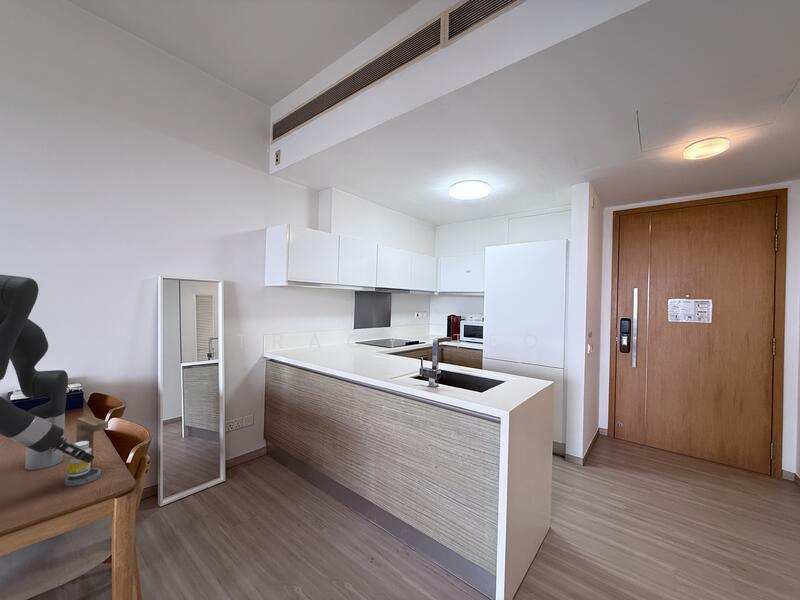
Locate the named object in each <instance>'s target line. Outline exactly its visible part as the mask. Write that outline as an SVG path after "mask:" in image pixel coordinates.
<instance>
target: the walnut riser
mask: <svg viewBox="0 0 800 600" xmlns="http://www.w3.org/2000/svg"><path fill="white" fill-rule="evenodd" d="M106 429H109V422H108V421H106V420H103V419H100V418H98V417H95V416H92V415H87V416H82V417H78V418H77V419H76V439H75V443H77V442H81V441H89V448H91V455H93V456H94V454H93V453H94V437H95V436H94V433H95V432H99V431H103V430H106ZM93 460H94V459H93ZM93 460H92V461H91V468H93V466H94V465H93V462H94V461H93Z"/></svg>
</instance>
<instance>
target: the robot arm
mask: <svg viewBox="0 0 800 600" xmlns="http://www.w3.org/2000/svg"><path fill="white" fill-rule="evenodd" d="M38 295H39V285H38V283H37V282H36V280H35V279H33V278H30V277H27V276H26V277H24V276H18V275H17V276H16V275H8V274H7V275H6V274H0V381H2V380H3V379H4V377H5V375H7V374H6V373H7V370H8V366H9V364H10V362H11V364H12V366H13V369H14V372H15V374H16V377H17V382H18V384H19V389H20V392H21V393H22V395H23V396H24V397H26V398H29V399H36V398H49V397H50V401H48V402H46V403H43V404H41V405H38V406H34V407H32V408H30V409H29V410H28V411H27V410H24V409H22V408H19V407H18V406H16V405H14V404H13V403H12V402H10V401H8V400H7V399H6V398H4V397H2V396H0V435H2V437H6V438H7V439H10V440H12V441H14V442H15V443H16V444H18V445H21V446H22V447H23V446H24V447H25V460H24V462H25V464H24V465H25V466H24V469H25V470H27V471H34V470H35V471H36V470H42V469H46V468H50V467H53V466H55V465H57V464H60V463H61V462H62V461H64V456H65V457H68V458H69V456H72V457H74V458H76V459H80V460H82V461H85V462H87V463H90V462H91V461H92V460H94V459H95V456H94V454H93V455H91V454H88V453H86V452H85V450H81V449H79V446H78V445H76V444H74V443H73V442H72V441H71V440H70V439H68V438H65V421H66V419H65V417H66V414H65V413H66V405H67V404H66V403H67V392H68V384H69V375H68V373H67V371H66V370H64V369H63V370H62V369H61V370H60V369H57V370H56V369H55V370H41V371H40V370H37V369H36V368H35V367H36V365H37V364H38V363H39V362H40V361H41V360H42V359H43V358H44V357H45V355H46V354H47V352H48V350H49V343H48V339H47V337H46V333H45V332H44V330H43V329H42V327H41V326H39V325H38V324H37V323H35V322H34V321H33V320H31V319H30V318H29V316H30V314H31V312H32V310H33V308H34V306H35V304H36V302H37V299H38ZM79 451H80V452H79ZM77 452H79V453H78V454H77ZM76 454H77V455H76ZM75 455H76V456H75Z"/></svg>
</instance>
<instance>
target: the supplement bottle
mask: <svg viewBox="0 0 800 600" xmlns="http://www.w3.org/2000/svg"><path fill="white" fill-rule="evenodd" d="M74 444H76V445H78V446H79V449H81V450H85V452H86V453H88V454H91V448H89V441H81V442H77V443H76V442H75V443H74ZM79 452H80V451H79ZM79 452H77V454H78V453H79ZM77 454H76V455H77ZM76 455H75V456H76ZM67 463H68V464H67V476H71V477H75V476H80V475H83V474H86V473H88V472H89V471H90V468H91V462H90V463H87V462H85V461H82V460H80V459H76V458H74V457H72V456H69V457H68V462H67Z"/></svg>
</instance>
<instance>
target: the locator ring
mask: <svg viewBox="0 0 800 600" xmlns="http://www.w3.org/2000/svg"><path fill="white" fill-rule="evenodd" d="M101 473H102V469H101V468H97V467H92V468H90V471H89V472H88V473H86V474H83V475H80V476H75V477H71V476H68V475H67V476H66V477H65V479H64V485H65V486H68V487H76V486H75V485H78V486H82V485H81V484H83V485H85V483H86V484H88V483H87V482H89V483H91V481H92V482H93V480H94V481H95V479H96V480H97V479H99V478H100V476H101Z"/></svg>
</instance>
